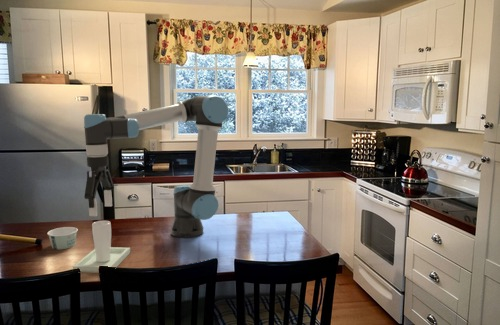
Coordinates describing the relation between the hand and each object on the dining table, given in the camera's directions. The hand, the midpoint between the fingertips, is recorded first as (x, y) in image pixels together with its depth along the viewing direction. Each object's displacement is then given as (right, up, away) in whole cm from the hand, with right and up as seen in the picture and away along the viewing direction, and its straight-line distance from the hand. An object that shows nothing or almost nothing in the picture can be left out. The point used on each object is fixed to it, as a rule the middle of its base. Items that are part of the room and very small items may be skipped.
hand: (101, 210), depth 152 cm
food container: (-24, -18, +21) cm, 37 cm away
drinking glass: (0, -20, +3) cm, 20 cm away
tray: (0, -20, +3) cm, 20 cm away
